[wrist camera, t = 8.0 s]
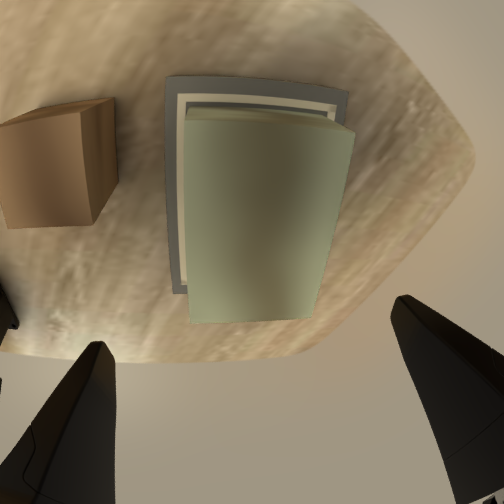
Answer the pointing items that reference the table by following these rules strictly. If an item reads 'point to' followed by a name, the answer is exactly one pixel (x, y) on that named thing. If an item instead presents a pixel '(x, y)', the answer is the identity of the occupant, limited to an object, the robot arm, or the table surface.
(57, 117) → the walnut cube
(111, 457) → the robot arm
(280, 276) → the sage block
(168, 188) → the plinth
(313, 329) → the table surface
